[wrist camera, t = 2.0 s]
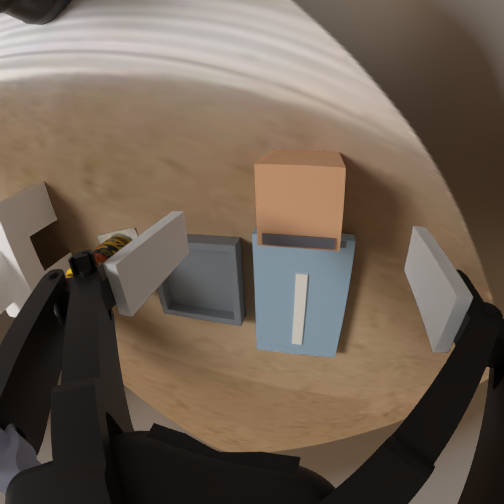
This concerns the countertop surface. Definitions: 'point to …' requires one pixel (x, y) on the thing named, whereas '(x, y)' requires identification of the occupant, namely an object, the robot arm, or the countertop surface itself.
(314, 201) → the stub
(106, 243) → the condiment
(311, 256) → the board
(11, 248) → the paper towel holder
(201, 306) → the tray
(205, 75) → the countertop surface
